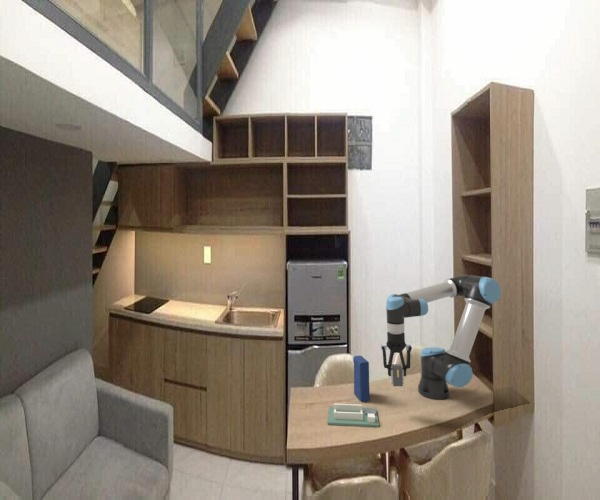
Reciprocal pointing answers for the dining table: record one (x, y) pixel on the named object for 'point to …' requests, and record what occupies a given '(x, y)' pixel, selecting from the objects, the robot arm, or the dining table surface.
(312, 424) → the dining table surface
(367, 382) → the tall blue block
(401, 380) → the grey upright block
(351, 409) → the header board
